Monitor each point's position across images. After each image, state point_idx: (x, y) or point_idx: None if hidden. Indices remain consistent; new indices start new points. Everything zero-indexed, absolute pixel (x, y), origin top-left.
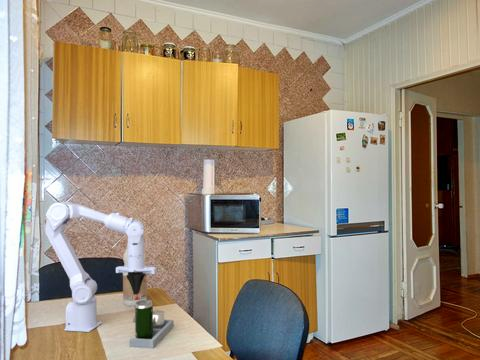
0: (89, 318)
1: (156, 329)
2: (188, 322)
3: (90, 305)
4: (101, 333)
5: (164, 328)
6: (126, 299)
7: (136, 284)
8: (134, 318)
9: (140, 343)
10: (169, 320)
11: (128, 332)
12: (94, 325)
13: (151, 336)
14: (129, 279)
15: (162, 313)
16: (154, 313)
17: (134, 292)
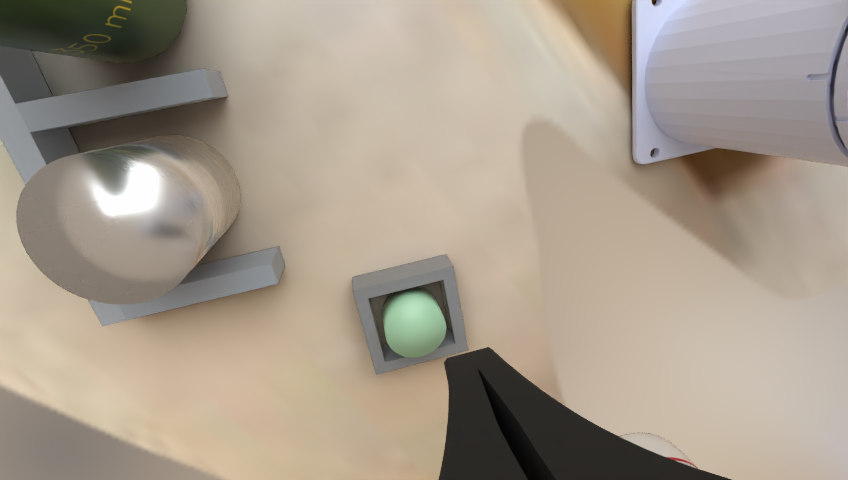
0: (717, 21)
1: (62, 104)
2: (84, 394)
3: (829, 10)
4: (538, 13)
5: (15, 151)
6: None
7: (468, 448)
8: (444, 266)
9: None
10: (124, 306)
11: (363, 97)
12: (649, 76)
13: None
14: (648, 474)
15: (33, 244)
16: (120, 215)
17: (478, 360)
